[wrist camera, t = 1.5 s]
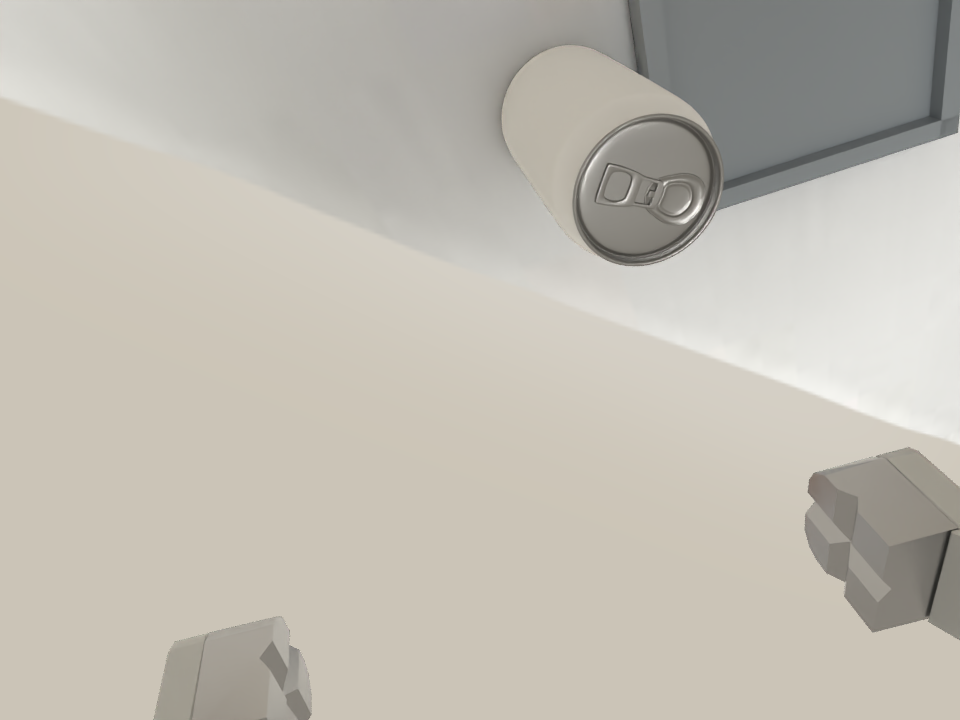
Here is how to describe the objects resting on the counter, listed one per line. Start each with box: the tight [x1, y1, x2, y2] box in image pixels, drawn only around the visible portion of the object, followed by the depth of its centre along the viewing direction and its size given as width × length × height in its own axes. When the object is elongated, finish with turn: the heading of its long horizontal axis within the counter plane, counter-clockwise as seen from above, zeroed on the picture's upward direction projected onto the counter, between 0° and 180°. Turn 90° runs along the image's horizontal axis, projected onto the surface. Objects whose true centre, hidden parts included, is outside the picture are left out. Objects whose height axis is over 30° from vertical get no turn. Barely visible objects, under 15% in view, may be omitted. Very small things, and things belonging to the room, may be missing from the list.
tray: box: [628, 0, 960, 211], centre depth 35 cm, size 16×14×2 cm
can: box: [501, 45, 724, 266], centre depth 31 cm, size 6×6×12 cm
